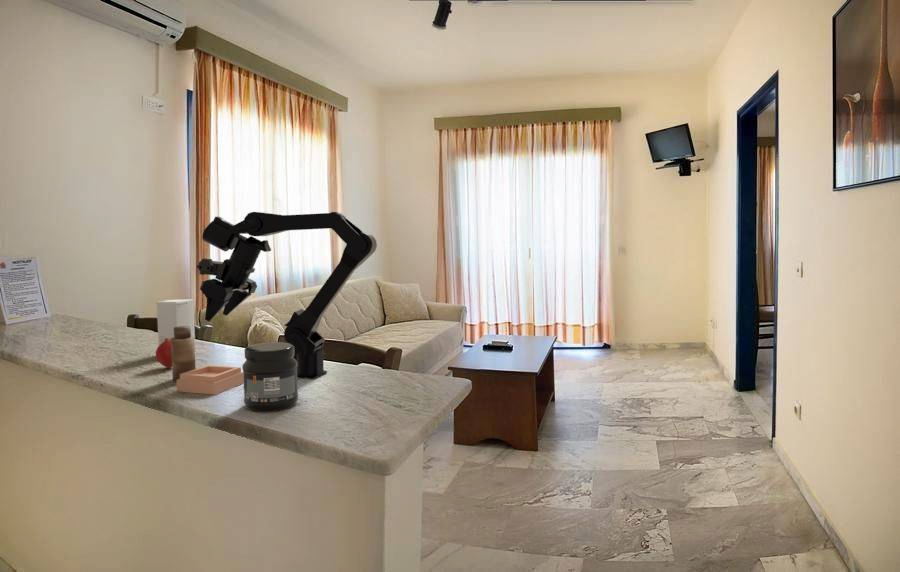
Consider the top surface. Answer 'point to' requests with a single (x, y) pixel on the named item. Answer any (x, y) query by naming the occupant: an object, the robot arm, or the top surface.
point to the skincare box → (174, 317)
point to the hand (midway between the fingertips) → (216, 317)
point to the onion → (164, 353)
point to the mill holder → (210, 379)
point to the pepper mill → (182, 351)
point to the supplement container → (270, 377)
